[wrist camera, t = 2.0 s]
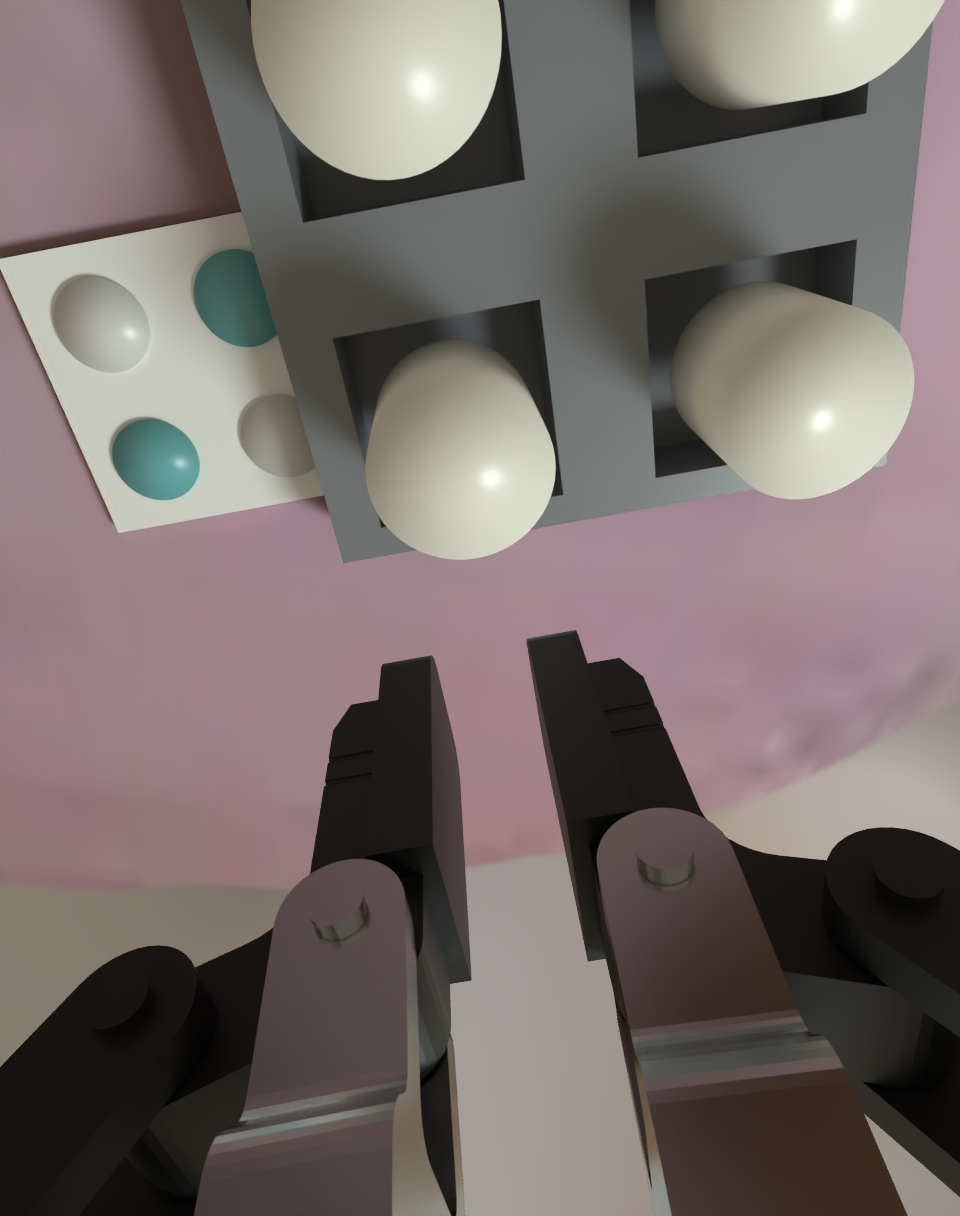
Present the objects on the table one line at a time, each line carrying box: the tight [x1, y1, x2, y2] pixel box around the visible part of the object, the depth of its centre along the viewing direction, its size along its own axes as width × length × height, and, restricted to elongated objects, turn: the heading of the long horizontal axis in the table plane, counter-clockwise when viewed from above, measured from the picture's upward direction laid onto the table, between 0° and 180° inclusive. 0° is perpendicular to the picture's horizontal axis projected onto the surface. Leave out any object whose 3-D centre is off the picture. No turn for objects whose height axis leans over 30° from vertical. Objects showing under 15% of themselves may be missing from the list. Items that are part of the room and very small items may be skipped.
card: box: [0, 212, 324, 533], centre depth 25 cm, size 9×9×1 cm
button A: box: [251, 0, 502, 180], centre depth 17 cm, size 5×5×5 cm
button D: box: [670, 281, 914, 499], centre depth 21 cm, size 5×5×5 cm
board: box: [180, 0, 933, 563], centre depth 22 cm, size 18×17×3 cm
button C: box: [365, 339, 556, 559], centre depth 21 cm, size 5×5×5 cm
